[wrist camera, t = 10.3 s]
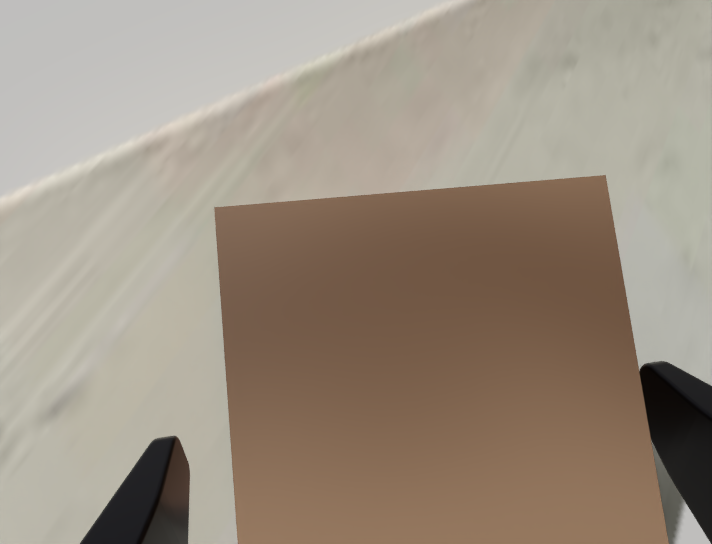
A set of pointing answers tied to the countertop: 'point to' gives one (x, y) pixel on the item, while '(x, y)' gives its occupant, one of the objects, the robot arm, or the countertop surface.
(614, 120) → the countertop surface
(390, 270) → the walnut pillar
